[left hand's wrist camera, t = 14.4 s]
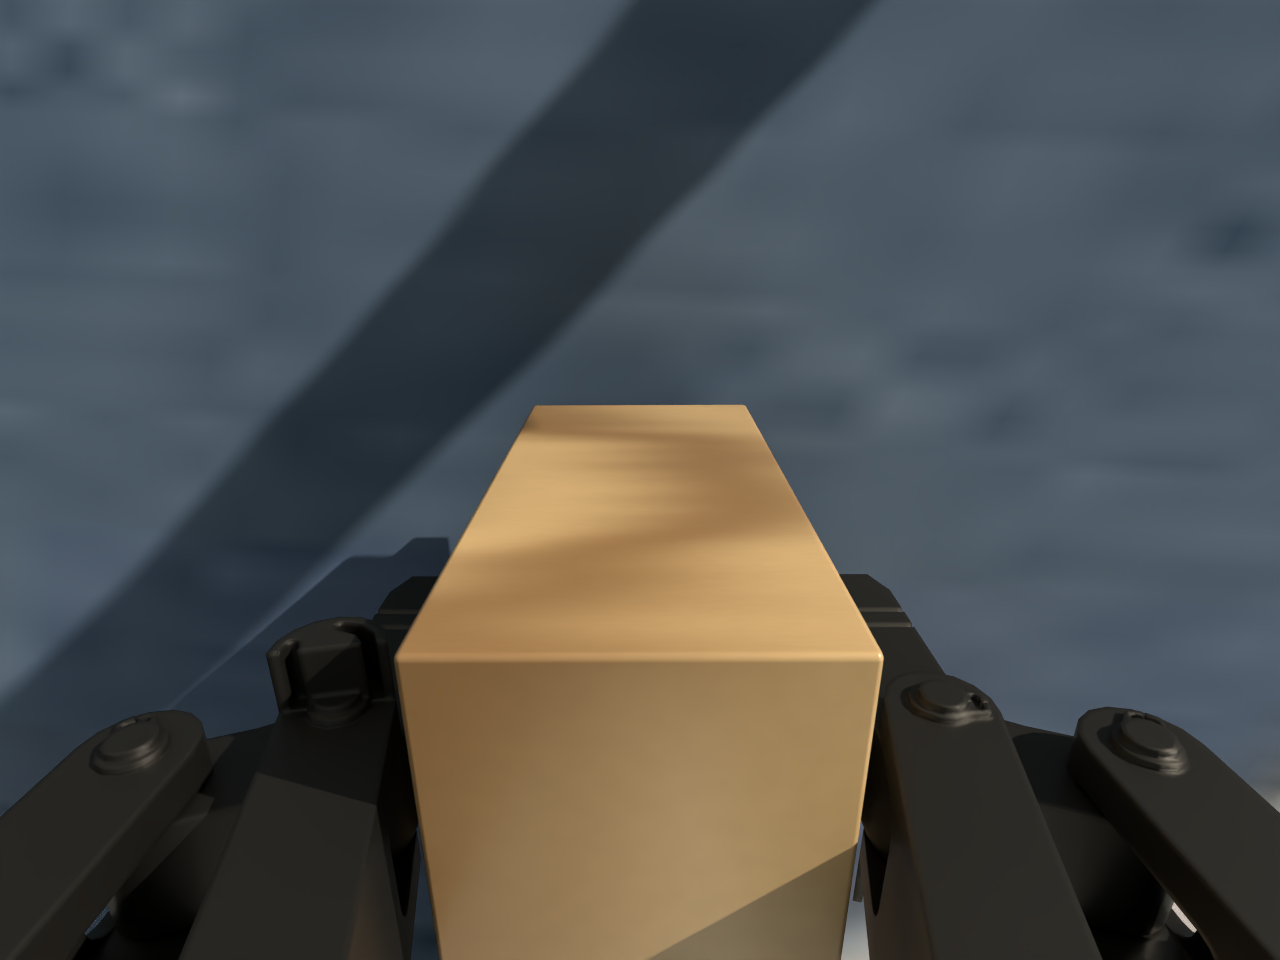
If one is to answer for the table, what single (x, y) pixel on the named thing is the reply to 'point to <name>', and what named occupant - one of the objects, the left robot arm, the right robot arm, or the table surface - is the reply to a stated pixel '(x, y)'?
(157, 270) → the table surface
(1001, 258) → the table surface
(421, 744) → the oak beam
